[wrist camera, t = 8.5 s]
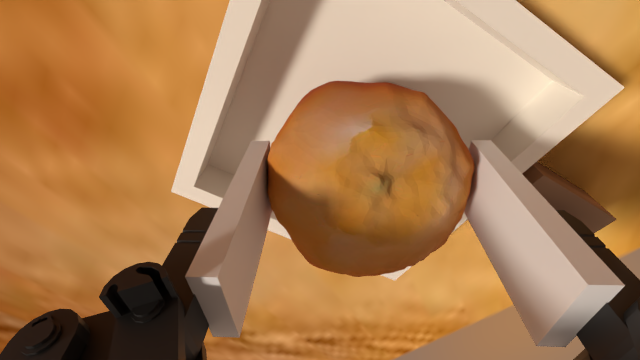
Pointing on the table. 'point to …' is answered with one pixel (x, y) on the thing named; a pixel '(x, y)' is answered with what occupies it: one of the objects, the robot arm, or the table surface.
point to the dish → (388, 77)
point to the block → (568, 197)
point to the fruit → (368, 177)
